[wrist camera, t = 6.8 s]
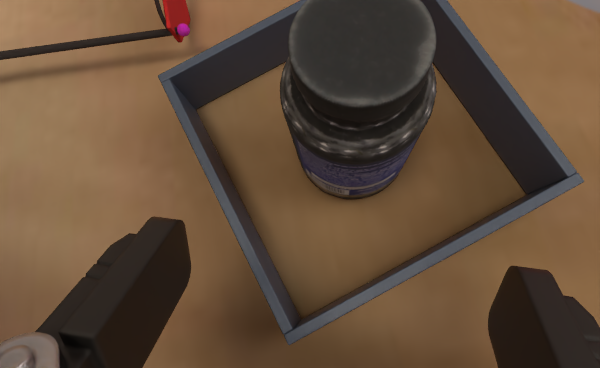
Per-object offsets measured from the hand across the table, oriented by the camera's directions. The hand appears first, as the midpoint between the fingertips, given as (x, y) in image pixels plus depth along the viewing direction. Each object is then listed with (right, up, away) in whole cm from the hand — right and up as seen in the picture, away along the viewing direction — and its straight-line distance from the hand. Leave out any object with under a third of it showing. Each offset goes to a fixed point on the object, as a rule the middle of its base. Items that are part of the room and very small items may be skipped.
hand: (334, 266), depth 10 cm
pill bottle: (+2, +4, +13) cm, 14 cm away
